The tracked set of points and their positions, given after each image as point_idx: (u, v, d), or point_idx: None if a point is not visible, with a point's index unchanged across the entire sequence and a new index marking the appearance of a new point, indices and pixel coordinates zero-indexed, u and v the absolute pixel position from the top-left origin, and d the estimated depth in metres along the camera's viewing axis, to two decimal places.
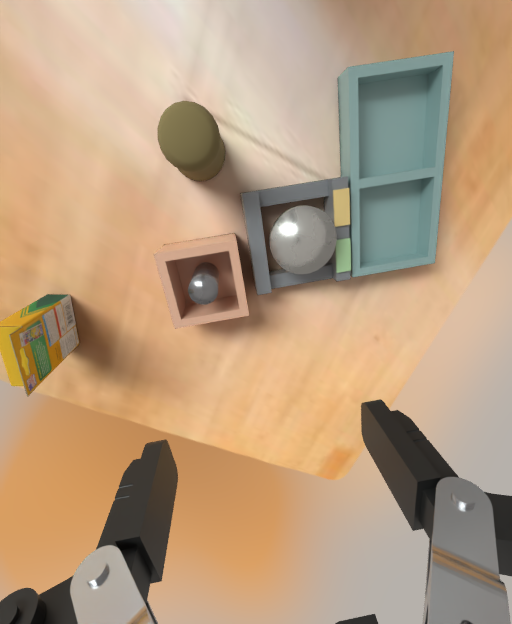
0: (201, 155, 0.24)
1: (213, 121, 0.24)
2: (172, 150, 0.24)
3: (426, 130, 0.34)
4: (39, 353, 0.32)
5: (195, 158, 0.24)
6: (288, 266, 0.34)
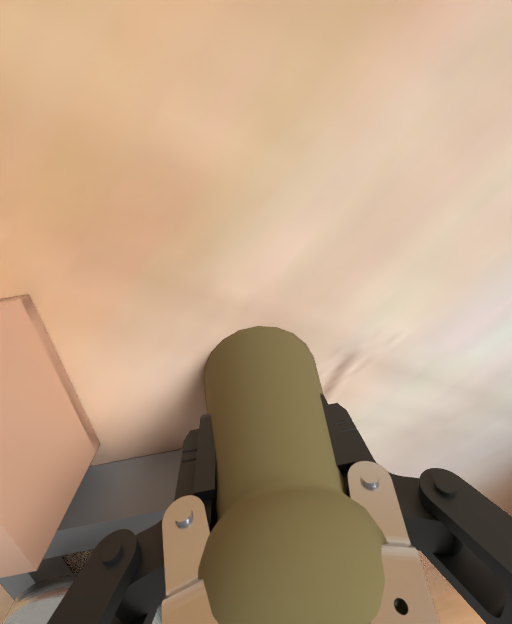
0: None
1: None
2: None
3: None
4: None
5: None
6: None
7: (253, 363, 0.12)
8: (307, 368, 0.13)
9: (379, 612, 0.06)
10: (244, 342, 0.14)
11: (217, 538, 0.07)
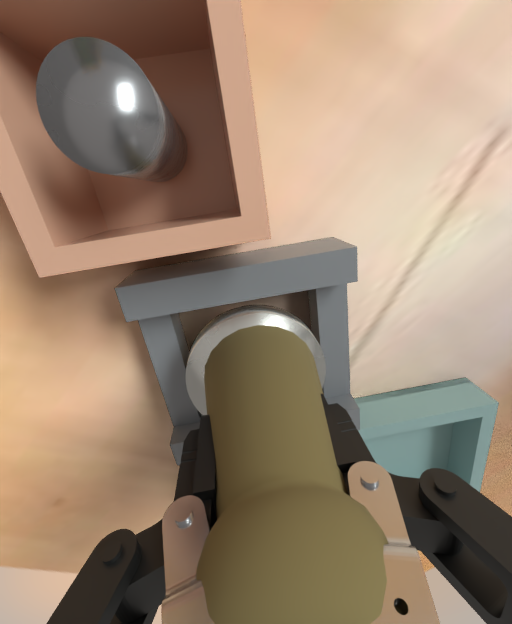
0: None
1: None
2: None
3: None
4: None
5: None
6: (201, 354, 0.15)
7: (253, 361, 0.12)
8: (307, 366, 0.13)
9: None
10: (244, 341, 0.14)
11: (216, 536, 0.07)
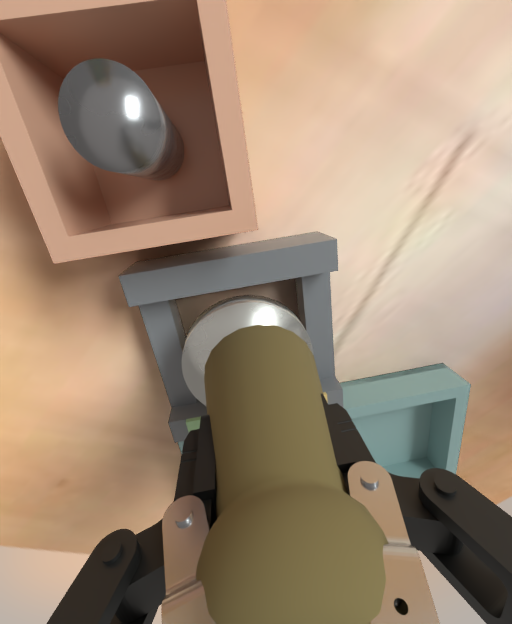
0: None
1: None
2: None
3: None
4: None
5: None
6: (196, 341, 0.16)
7: (253, 360, 0.12)
8: (307, 366, 0.13)
9: None
10: (244, 340, 0.14)
11: (217, 535, 0.07)
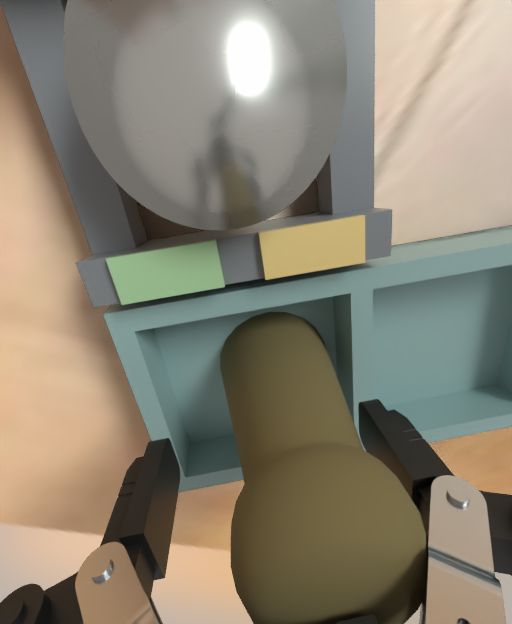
0: None
1: None
2: (298, 585, 0.06)
3: (418, 403, 0.18)
4: None
5: None
6: (90, 1, 0.07)
7: (268, 344, 0.13)
8: (318, 347, 0.14)
9: (437, 621, 0.05)
10: (257, 326, 0.15)
11: (250, 490, 0.08)
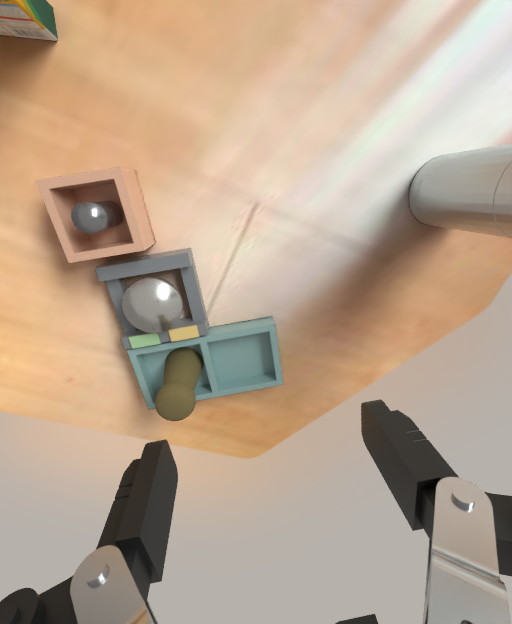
0: (163, 416, 0.38)
1: (185, 417, 0.39)
2: (163, 401, 0.37)
3: (242, 379, 0.49)
4: None
5: (161, 413, 0.37)
6: (127, 295, 0.38)
7: (175, 358, 0.44)
8: (193, 359, 0.45)
9: (441, 622, 0.05)
10: (175, 352, 0.45)
11: (159, 390, 0.38)
